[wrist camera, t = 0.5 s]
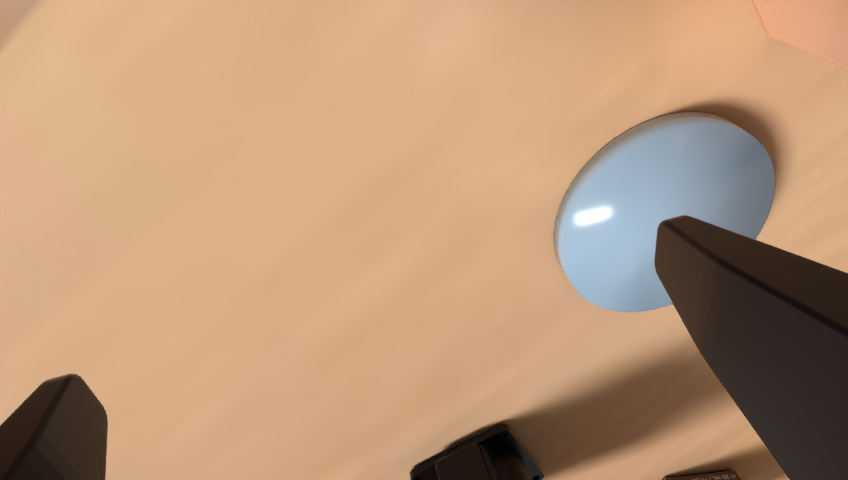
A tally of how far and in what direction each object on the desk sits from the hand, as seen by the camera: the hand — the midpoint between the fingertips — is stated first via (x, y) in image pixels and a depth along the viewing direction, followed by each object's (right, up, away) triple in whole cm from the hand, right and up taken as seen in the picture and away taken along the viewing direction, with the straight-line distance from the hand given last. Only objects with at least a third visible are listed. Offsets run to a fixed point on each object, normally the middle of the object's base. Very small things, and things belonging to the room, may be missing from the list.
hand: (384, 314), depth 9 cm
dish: (+11, +2, +19) cm, 22 cm away
